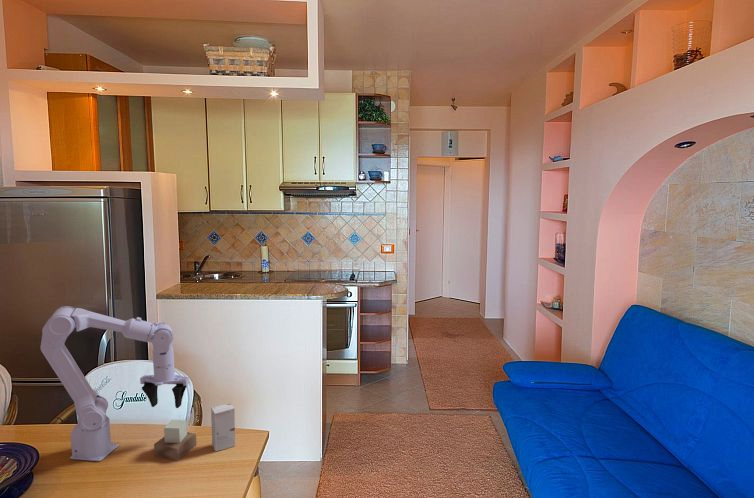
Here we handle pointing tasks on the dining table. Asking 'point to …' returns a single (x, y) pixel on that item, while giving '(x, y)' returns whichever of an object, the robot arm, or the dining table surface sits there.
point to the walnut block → (175, 447)
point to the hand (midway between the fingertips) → (166, 405)
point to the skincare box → (223, 426)
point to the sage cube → (175, 431)
